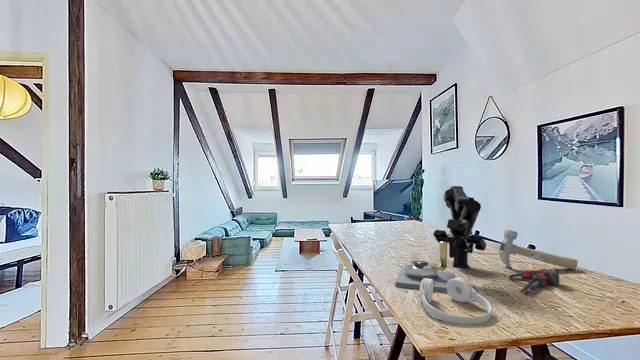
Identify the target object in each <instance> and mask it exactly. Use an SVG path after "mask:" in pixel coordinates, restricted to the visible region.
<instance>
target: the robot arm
mask: <svg viewBox="0 0 640 360" xmlns="http://www.w3.org/2000/svg"><path fill="white" fill-rule="evenodd" d="M443 201H444V202H445V206H446V207H447V208H448V209H450V216H451V219H450V218H449V219H448V220H447V225H446V228H447V229H449V233H447V231H446V230H442V229H435V230H434V231H433V236H434V238H435V240H436V242H437V243H439V244H440V241H444V242H447V244H448V246H449V251H448V252H449V254H448V255H449V256H448V257H449V258H451V259H453V261H452V263H451V264H452V267H454V268H467V269H469V268H470V265H469V261H468V260H469V259H468V258H469V255H468V254H473V252H474V248H475V250H477V251H478V250H479V251H486V248H487V243H486V240H485V239H484V237H483V236H482V235H479V234H473V231H472V230H473V228H474V226H475V223H476V221H477V218H478V217H479V213H480V211H481V209H482V205H481V203H480V202H479V201H477V200H476V199H475V198H474V197H470V196H467V193H466V191H464V188H463V186H461V185H452V186H450V187H449V189H447V190H445V191H444V194H443Z"/></svg>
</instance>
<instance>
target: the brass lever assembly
mask: <svg viewBox="0 0 640 360" xmlns="http://www.w3.org/2000/svg"><path fill="white" fill-rule="evenodd" d="M438 257H439V258H438V259H439V264H438V263H437V262H434V261H429V262H428V261H426V260H420V259H416V258H415V259H410V262H405V263H404V268H405V275H407V276H409V277H412V278H416V279H424V278H428V279H435V278H437V277H438V271H443V272H445V271H446V268H448V243H447V242H444V241H440V243H439V255H438Z"/></svg>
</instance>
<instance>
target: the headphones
mask: <svg viewBox="0 0 640 360" xmlns="http://www.w3.org/2000/svg"><path fill="white" fill-rule="evenodd" d="M433 287H434V281H433V279H428V278H424V279H423V280H422V282H421V285H420V289H419V293H418V294H419V295H418V296H419V300H420V301H421V303H422V306H423V307H424V309H425V311H426V312H427V313H428V314H429V315H431V316H432V317H434V318H436V319H438V320H441V321H443V322H447V323H452V324H459V325H460V324H462V325H463V324H465V325H474V324H482V323H486V322H488V321H490V320H491V318H492V316H493V315H492V314H493V307H492V305H491V303H490V302H489V300H487V299H486V298H485V297H483V296H482V295H480V294H479V293H478V292H477V291H476V290H475V289H474V288H473V287H472V286H471V284H470V283H469V281H467V280H466V279H465V278H463V277H460V276H459V277H455V278H453V279H450V280H449V281H448V282H447V286H446V287H447V292H446V293H447V294H448V295H449V297H450V298H451V300H454V301H456V302H459V303H466V302H468V301H472V302H475V301H476V302H477V303H479V304H480V305H482V307H483V308H485V310H487V312H488V313H486V314H484V315H481V316H469V317H468V316H457V315H452V314H447V313H444V312H443V310H442V311H441V310H439V309H437V308H435V307H434V306H432V304H430V303H431V302H432V300H433V293H434V291H433Z"/></svg>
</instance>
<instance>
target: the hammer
mask: <svg viewBox="0 0 640 360" xmlns="http://www.w3.org/2000/svg"><path fill="white" fill-rule="evenodd" d="M503 236H504V238H503V239H502V241H501V243H500V247H499V250H498V251H499V256H500V257H499V258H500V260H501V261H502V263H503V264H505V266H507V267H508V268H510V269H511V268H512V269H513V267H512V266H511V262H510V255H519V256H522V257H525V258H530V259H533V260H536V261H539V262H542V263H546V264H549V265H554V266H558V267H562V268H565V269H569V270H572V271H573V270H576V268H577V267H578V263H579V262H578V260H577V259H576V258H574V257H568V256H562V255H558V254H553V253H549V252H545V251H541V250H538V249H532V248H528V247H523V246H520V245H517V244H516V243H515V244H514V243H513V242H514V240H517V237H518V236H519V235H518V232H517V231H514V230H511V229H508V228H505V229H504V232H503Z"/></svg>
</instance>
